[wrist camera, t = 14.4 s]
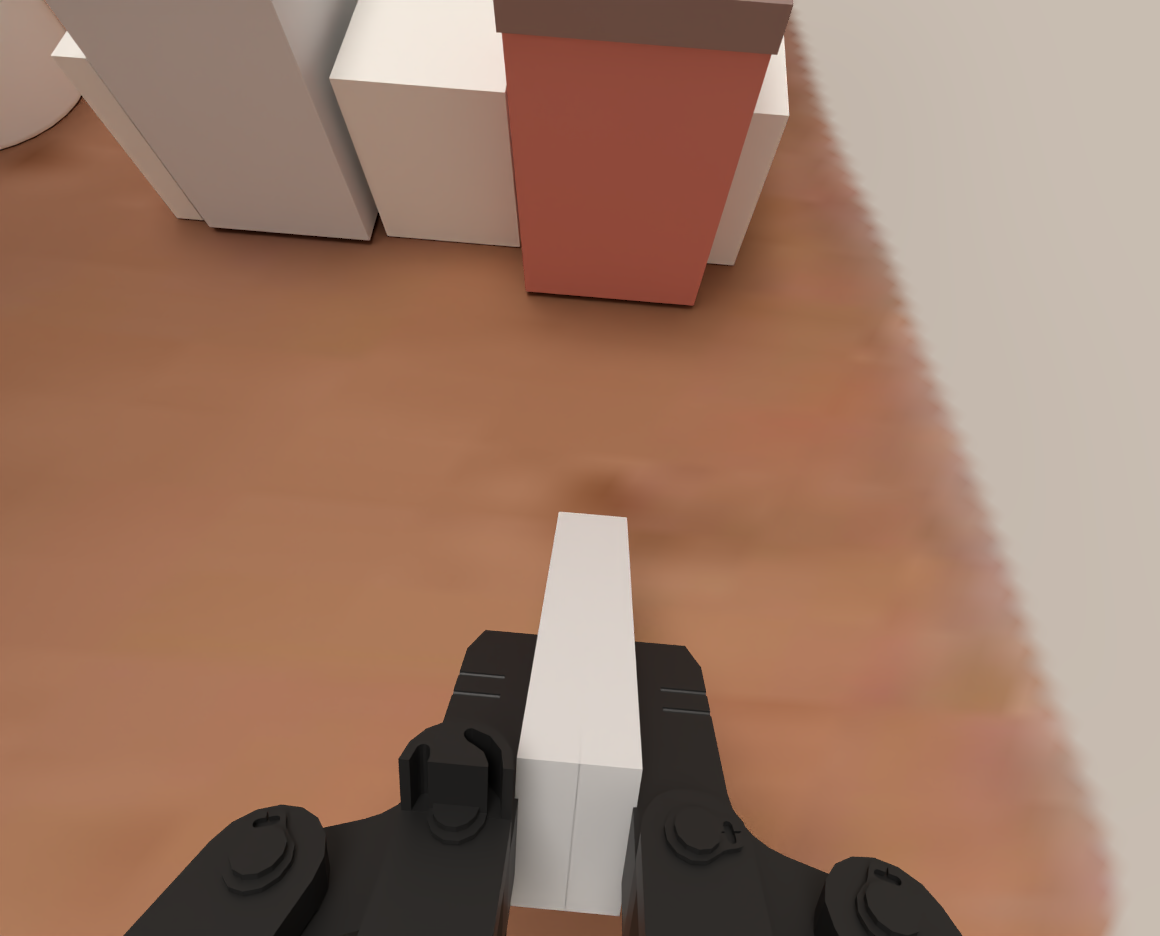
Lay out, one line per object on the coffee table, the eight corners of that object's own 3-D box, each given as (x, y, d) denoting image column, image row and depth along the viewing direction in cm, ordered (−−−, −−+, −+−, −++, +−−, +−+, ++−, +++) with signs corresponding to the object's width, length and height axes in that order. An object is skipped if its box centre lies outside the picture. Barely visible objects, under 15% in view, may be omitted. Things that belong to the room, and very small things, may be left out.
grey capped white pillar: (205, 228, 22) (-43, -109, 13) (247, 130, 24) (58, -222, 15) (371, 243, 22) (237, -88, 13) (400, 142, 24) (301, -203, 15)
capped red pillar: (522, 293, 21) (491, -19, 12) (539, 185, 23) (522, -151, 14) (696, 308, 21) (793, 4, 12) (698, 198, 23) (782, -132, 14)
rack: (176, 218, 23) (-92, -128, 13) (252, 53, 26) (82, -307, 17) (733, 265, 22) (852, -55, 13) (731, 92, 26) (822, -253, 17)
